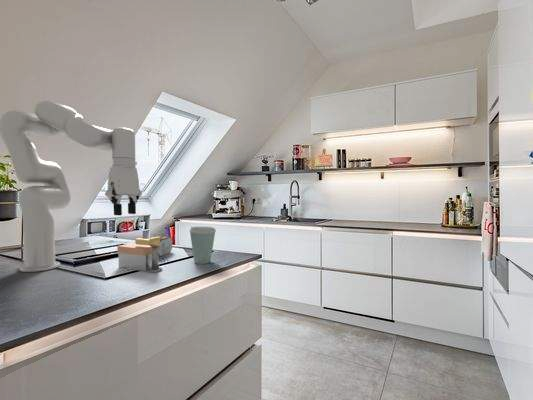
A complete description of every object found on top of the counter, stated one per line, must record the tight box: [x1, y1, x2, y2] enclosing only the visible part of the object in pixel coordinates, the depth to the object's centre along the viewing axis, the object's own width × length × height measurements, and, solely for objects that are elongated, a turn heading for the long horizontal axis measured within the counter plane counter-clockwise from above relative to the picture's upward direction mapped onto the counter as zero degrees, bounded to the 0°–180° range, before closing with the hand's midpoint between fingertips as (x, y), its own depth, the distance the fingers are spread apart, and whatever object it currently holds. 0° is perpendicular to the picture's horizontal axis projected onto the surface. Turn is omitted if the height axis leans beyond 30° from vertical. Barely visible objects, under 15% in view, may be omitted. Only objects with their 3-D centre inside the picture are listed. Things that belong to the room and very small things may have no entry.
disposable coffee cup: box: [189, 226, 217, 265], centre depth 126 cm, size 11×11×15 cm
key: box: [134, 236, 161, 246], centre depth 115 cm, size 11×4×3 cm, turn 66°
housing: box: [117, 246, 163, 273], centre depth 116 cm, size 19×5×9 cm, turn 66°
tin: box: [158, 235, 173, 258], centre depth 140 cm, size 15×3×8 cm, turn 172°
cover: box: [116, 243, 152, 256], centre depth 117 cm, size 13×6×2 cm, turn 66°
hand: (125, 214), depth 109 cm, fingers open, 5 cm apart
